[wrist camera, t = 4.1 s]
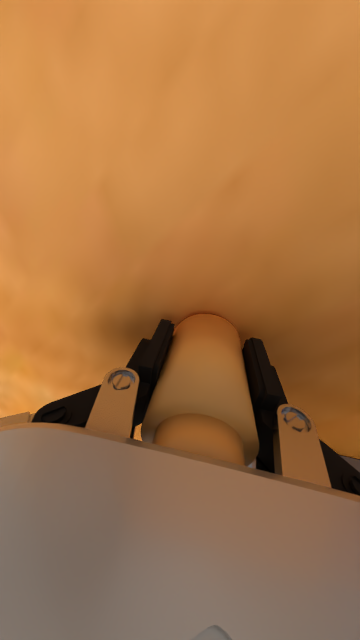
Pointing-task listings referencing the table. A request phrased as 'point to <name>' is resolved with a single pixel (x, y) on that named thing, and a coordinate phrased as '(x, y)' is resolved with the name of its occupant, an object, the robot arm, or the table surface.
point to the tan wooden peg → (203, 394)
